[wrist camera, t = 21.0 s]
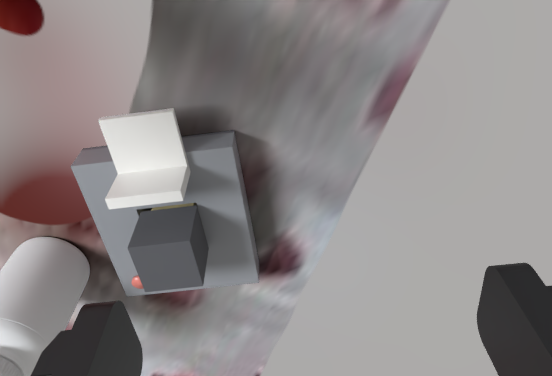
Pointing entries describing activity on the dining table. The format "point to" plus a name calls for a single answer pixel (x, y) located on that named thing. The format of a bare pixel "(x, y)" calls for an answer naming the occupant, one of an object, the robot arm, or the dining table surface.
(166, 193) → the white l-shaped bracket
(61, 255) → the pill bottle
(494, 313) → the robot arm
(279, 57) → the dining table surface
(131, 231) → the socket
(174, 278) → the plug
